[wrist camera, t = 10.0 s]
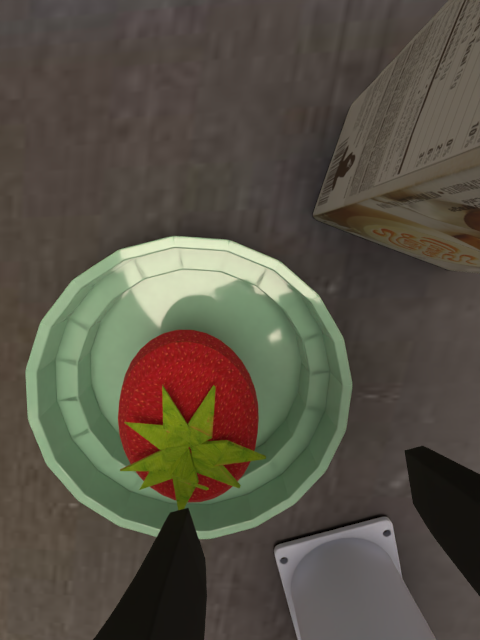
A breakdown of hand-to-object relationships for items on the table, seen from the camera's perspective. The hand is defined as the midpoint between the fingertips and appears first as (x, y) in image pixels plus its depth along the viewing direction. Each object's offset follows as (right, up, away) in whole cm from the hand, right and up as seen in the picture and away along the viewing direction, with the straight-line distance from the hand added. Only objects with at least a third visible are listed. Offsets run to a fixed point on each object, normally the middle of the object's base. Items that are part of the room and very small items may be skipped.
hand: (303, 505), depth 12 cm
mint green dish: (-4, +3, +10) cm, 11 cm away
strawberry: (-4, +3, +9) cm, 11 cm away
